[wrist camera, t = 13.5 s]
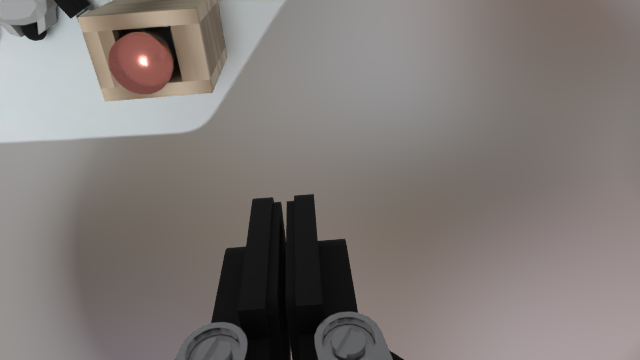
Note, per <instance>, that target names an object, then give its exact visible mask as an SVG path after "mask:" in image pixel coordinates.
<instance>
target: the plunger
mask: <svg viewBox="0 0 640 360" xmlns="http://www.w3.org/2000/svg"><path fill="white" fill-rule="evenodd" d="M176 58H177V54H176V49H175V45H174V41H173V36H172V32H171V29H170V28H169V27H167V26H161V27H148V28H147V29H145V30H144V31H143V32H132V33H129V34H126V35H125V36H123V37H122V38H120V39H119V40H117V41H116V42H115V43H114V44H113V46H112V47H111V49H110V52H109V57H108V62H109V67H110V70H111V73H112V75H113V76H114V78H115V79H116V81H117V82H118V83H119V84H120V85H121V86H123V87H124V88H126V89H127V90H129V91H131V92H134V93H137V94H152V93H156V92H158V91H159V90H161V89H162V88H163V87H164V86H165V85H166V84H167V83H168V81H169V80H170V78H171V76H172V74H173V69H174V63H173V62H174V61H175V59H176Z"/></svg>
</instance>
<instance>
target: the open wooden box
mask: <svg viewBox="0 0 640 360" xmlns="http://www.w3.org/2000/svg"><path fill="white" fill-rule="evenodd" d="M78 20H79V23H80V26H81V30H82V33H83V36H84V39H85V42H86V45H87V48H88V51H89V54H90V57H91V60H92V63H93V66H94V69H95V72H96V75H97V78H98V81H99V85H100V88H101V91H102V94H103V97H104V100H105V101H116V100H129V99H141V98H153V97H165V96H177V95H189V94H202V93H212V92H213V90H214V88H215V85H216V83H217V80H218V78H219V75H220V73H221V70H222V68H223V66H224V63H225V61H226V58H227V55H226V49H225V43H224V37H223V31H222V25H221V19H220V13H219V7H218V1H217V0H114V1H111V2H109V3H107V4H105V5H103V6H101V7H99V8H96V9H94V10H92V11H90V12H88V13H86V14H84V15H82V16H79V17H78ZM161 26H170V27H171V32H172V36H173V41H174V45H175V49H176V54H177V58H176V59H175V61H174V62H173V63H174V69H173V74H172V76H171V78H170V80H169V81H168V83H167V84H166V85H165V86H164V87H163V88H162V89H161V90H159V91H158V92H156V93H152V94H137V93H134V92H131V91H129V90H127V89H126V88H124V87H123V86H121V85H120V84H119V83H118V82H117V81H116V79H115V78H114V76H113V75H112V73H111V70H110V67H109V62H108V57H109V52H110V49H111V47H112V46H113V44H114V43H115V42H116V41H117V40H119V39H120V38H122V37H123V36H125V35H126V34H129V33H132V32H143V31H144V28H148V27H161Z"/></svg>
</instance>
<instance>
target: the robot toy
mask: <svg viewBox="0 0 640 360" xmlns="http://www.w3.org/2000/svg"><path fill="white" fill-rule="evenodd" d="M57 5H58V6H59V7H60V8H61V9H62V10H63V11H64V12H65V13H66V14H67V15H68V16H69V17H70V19H71V18H72V17H74V16H75V15H76V14H77V19H78V17H79V16H82V15H84V14H86V13H88V12H90V10H89V9H86V7H87V6H89V5H90V3H89V2H88V1H87V0H0V23H1V25H2V26H3V27H4V28H5V29H6V30H7V31H8V32H9V33H10V34H13V35H16V36H19V37H22V36H24V35H25V36H26V37H27V38H29V39H31V40H34V41H37V40H42V39H44V38H45V36H46V34H47V29H48V28H49V27H51V26H52V25H53V24H54V23H56V22H57V20H56V7H57ZM78 21H79V20H78ZM79 24H80V23H79Z"/></svg>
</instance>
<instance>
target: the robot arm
mask: <svg viewBox="0 0 640 360" xmlns="http://www.w3.org/2000/svg"><path fill="white" fill-rule="evenodd" d="M286 227H287V229H286V238H285V230H284V222H283V213H282V205H281V202H274V200H273V198H272V197H271V198H258V199H253V200H252V207H251V215H250V222H249V229H248V237H247V244H246V247H237V248H227V249H226V251H225V255H224V261H223V266H222V270H221V276H220V281H219V286H218V291H217V296H216V301H215V307H214V311H213V316H212V321H211V324H208V325H204V326H202V327H201V328H199V329H197V330H195V331H193V332H192V333H191V334H190V335H189V336H188V337H187V338H186V339H185V340H184V342H183V344H182V345H181V347H180V349H179V352H178V353H177V356H176V358H175V360H291V358H290V357H291V352H292V359H293V360H404V359H402V358H400V357H399V356H397V355H396V354H394V353H393V352H391V351H390V350H389V349H388V346H387V344H386V342H385V339H384V337H383V334H382V332H381V330H380V329H379V327H378V325H377V324H376V323H375V322H374V321H373V320H372V319H370V318H369V317H367V316H365V315H363V314H360V313H358V310H357V304H356V298H355V292H354V287H353V281H352V275H351V269H350V263H349V257H348V251H347V245H346V241H345V239H338V240H325V241H318V240H317V230H316V229H317V228H316V216H315V204H314V194H311V195H298V196H294V201H287V226H286Z"/></svg>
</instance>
